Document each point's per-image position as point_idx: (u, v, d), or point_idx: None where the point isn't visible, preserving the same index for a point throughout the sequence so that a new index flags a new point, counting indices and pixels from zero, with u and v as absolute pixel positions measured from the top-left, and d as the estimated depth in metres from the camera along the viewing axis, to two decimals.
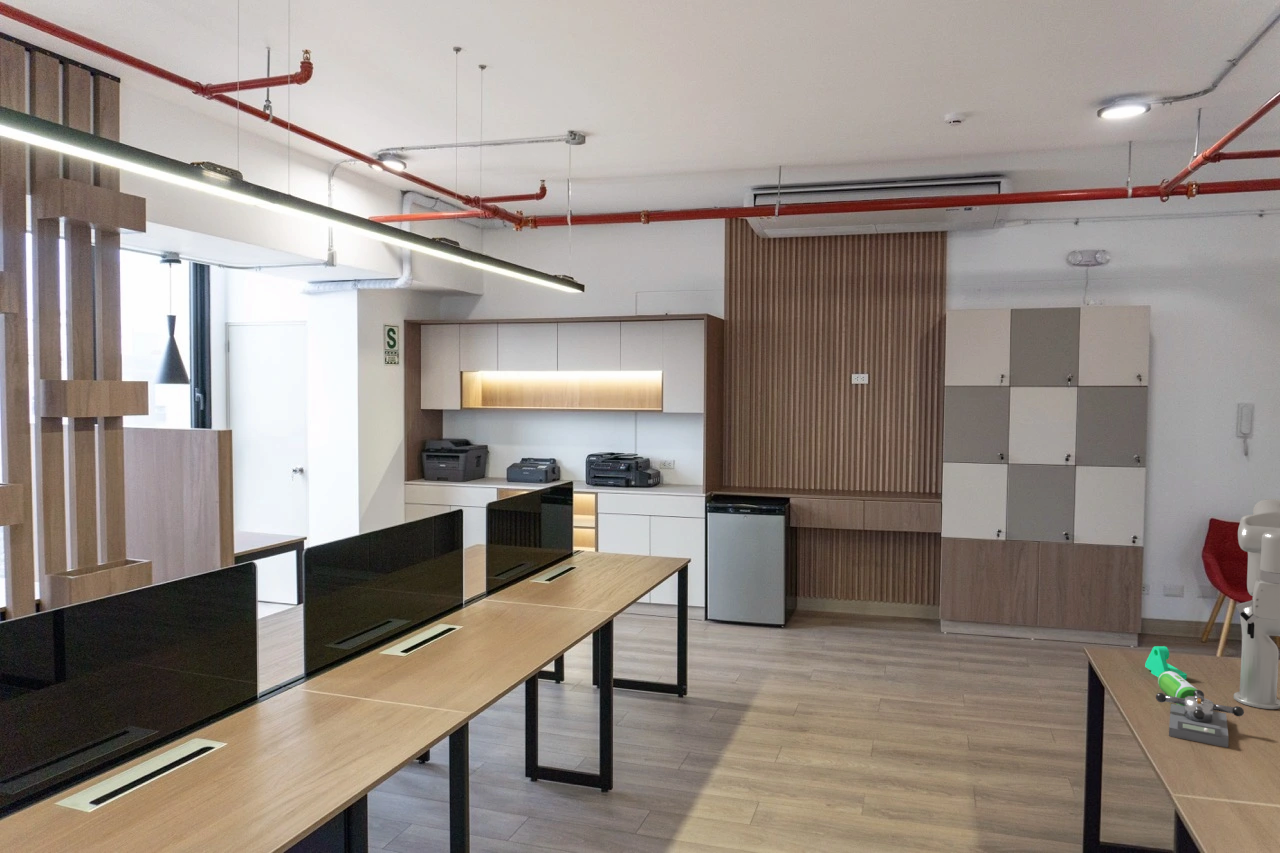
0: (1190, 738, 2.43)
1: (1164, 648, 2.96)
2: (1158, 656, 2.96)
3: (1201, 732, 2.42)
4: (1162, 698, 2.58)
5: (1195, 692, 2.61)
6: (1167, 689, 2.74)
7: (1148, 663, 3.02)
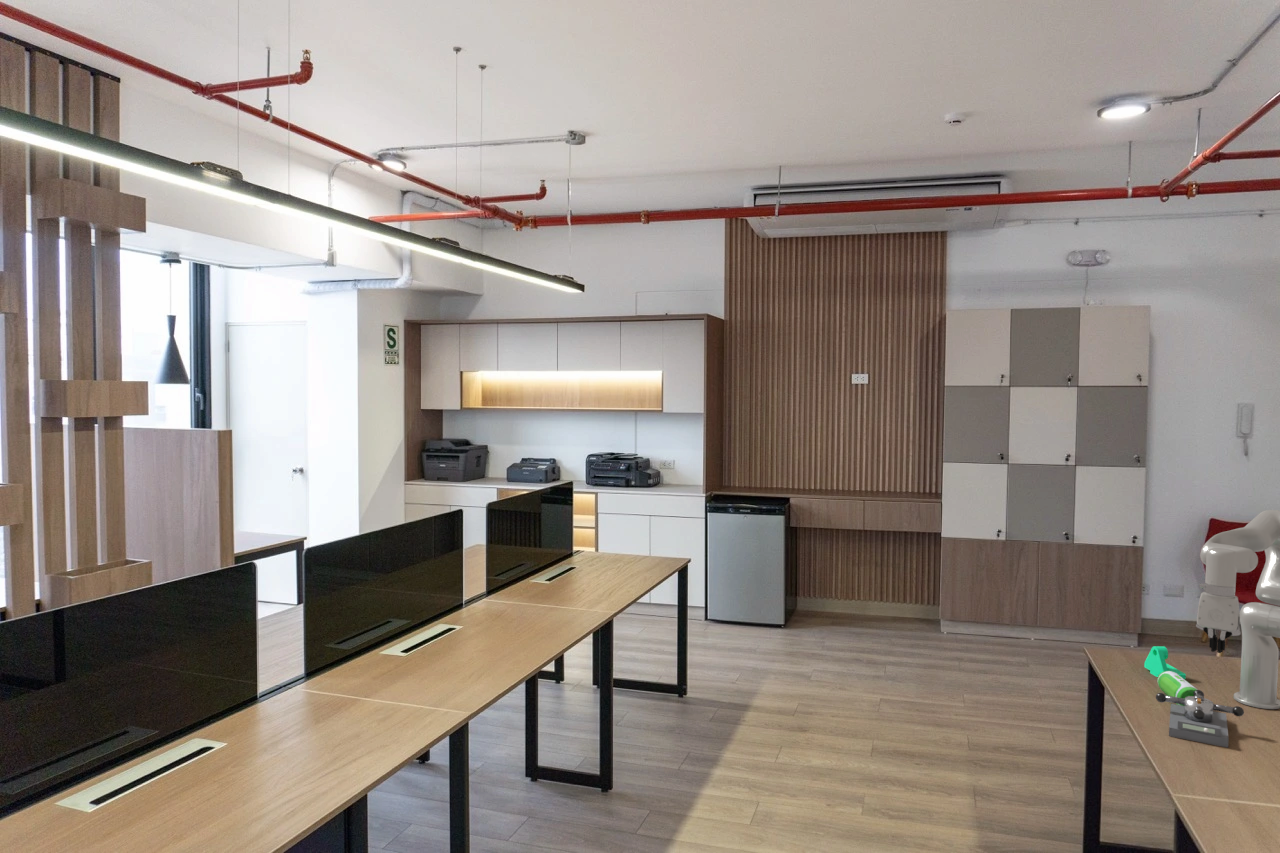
0: (1190, 738, 2.43)
1: (1163, 648, 2.96)
2: (1157, 656, 2.96)
3: (1201, 732, 2.42)
4: (1162, 698, 2.58)
5: (1195, 692, 2.61)
6: (1167, 689, 2.74)
7: (1147, 663, 3.02)
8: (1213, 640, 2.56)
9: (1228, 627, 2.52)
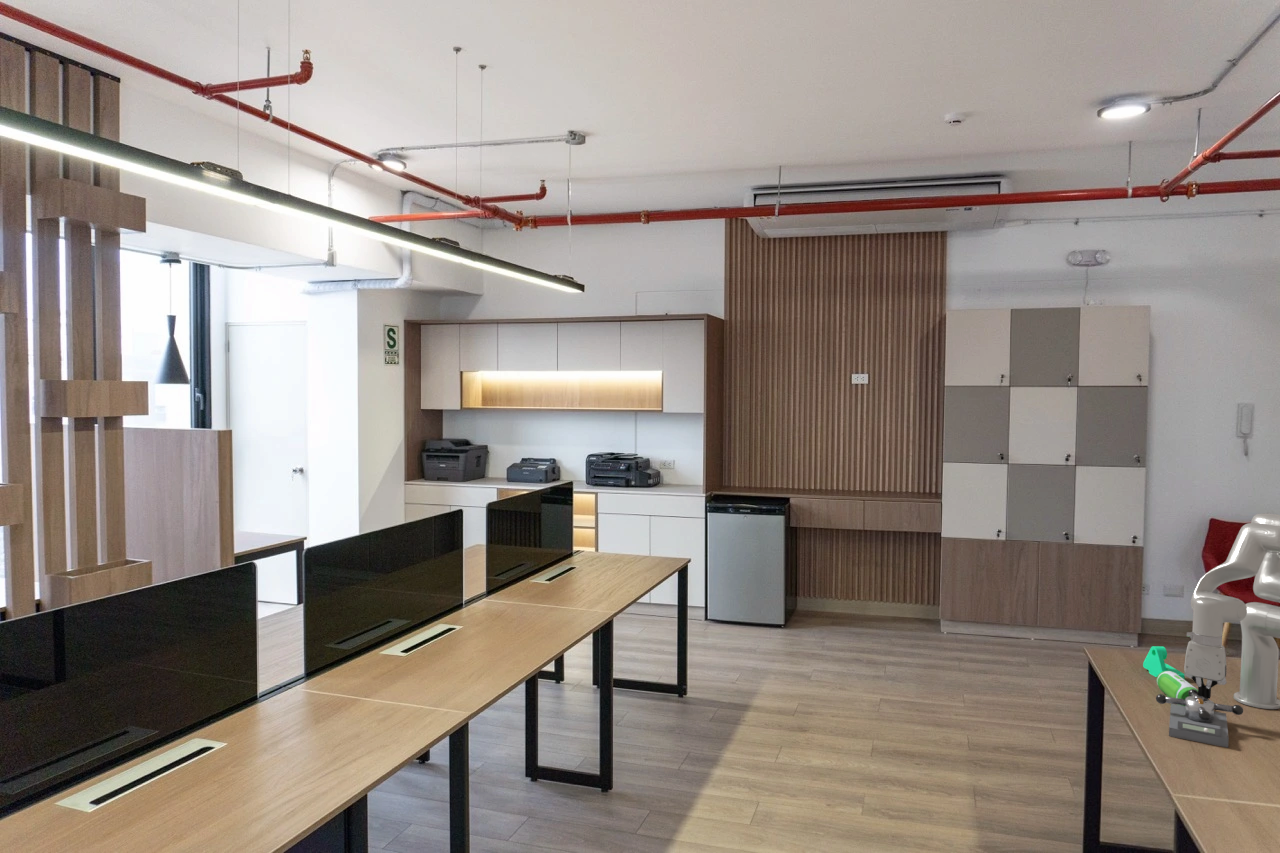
0: (1190, 738, 2.43)
1: (1162, 648, 2.96)
2: (1156, 656, 2.96)
3: (1201, 732, 2.42)
4: (1163, 699, 2.56)
5: (1190, 691, 2.62)
6: (1167, 689, 2.74)
7: (1146, 663, 3.02)
8: (1202, 689, 2.58)
9: (1215, 677, 2.55)
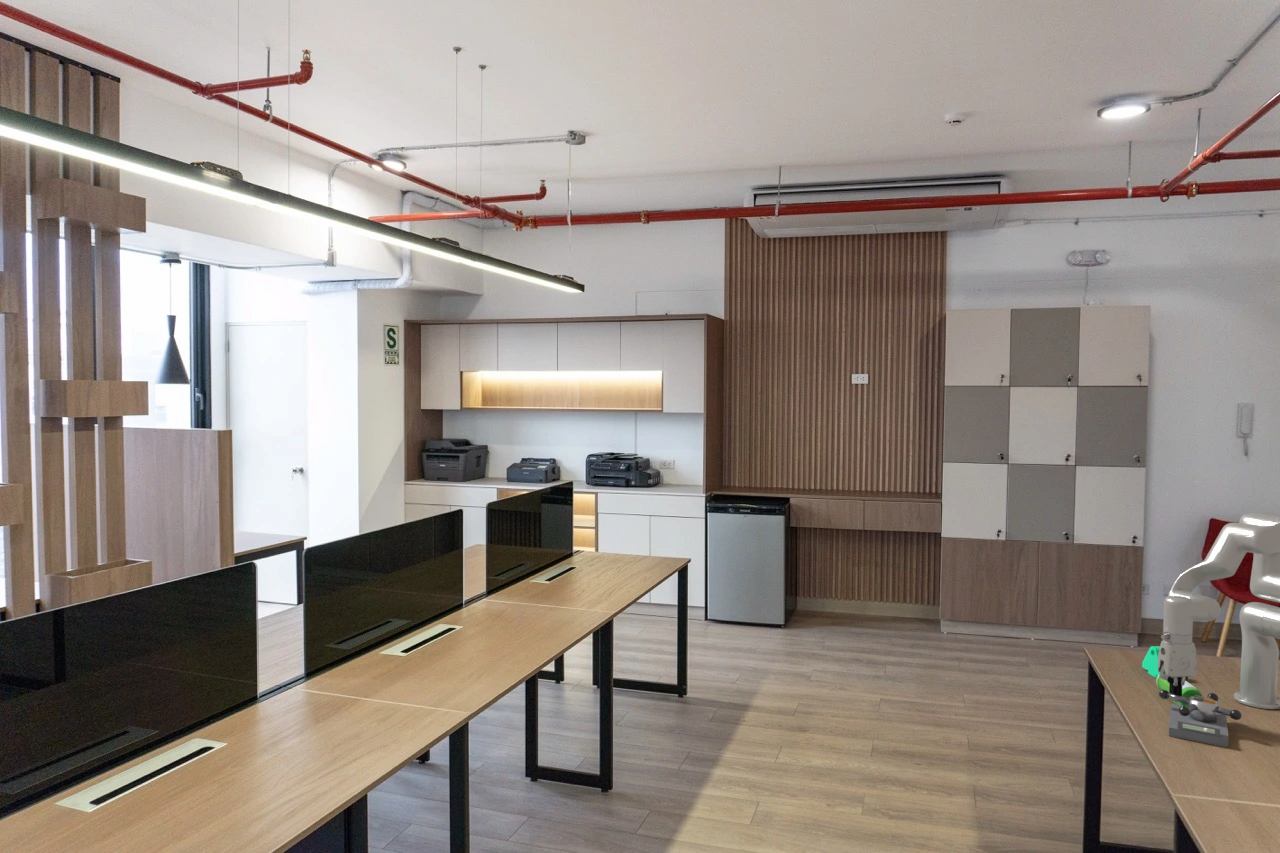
0: (1190, 738, 2.43)
1: None
2: (1155, 656, 2.96)
3: (1201, 732, 2.42)
4: (1189, 711, 2.47)
5: (1165, 693, 2.60)
6: (1167, 689, 2.74)
7: (1145, 663, 3.02)
8: (1178, 687, 2.59)
9: (1192, 672, 2.59)
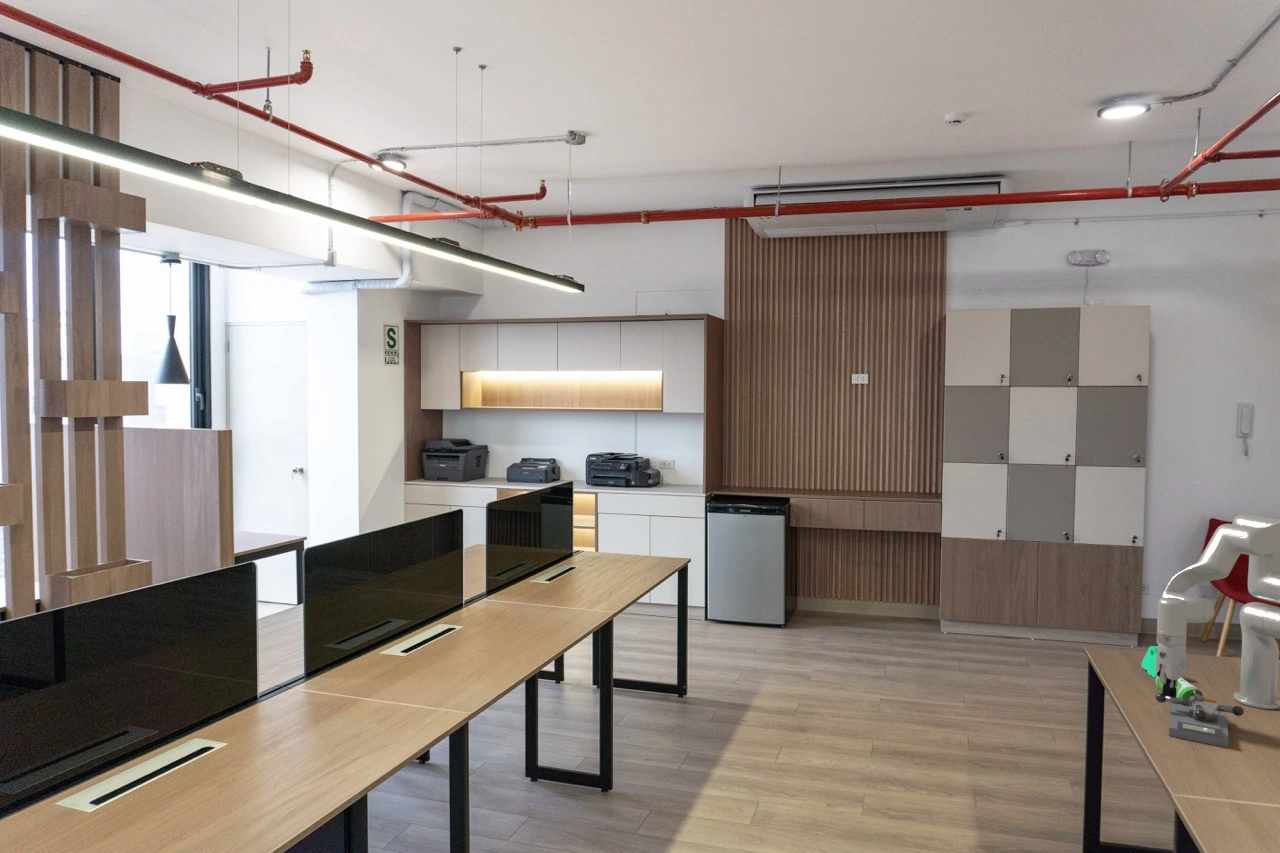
0: (1190, 738, 2.43)
1: None
2: (1154, 656, 2.96)
3: (1201, 732, 2.42)
4: None
5: (1164, 697, 2.57)
6: None
7: (1144, 663, 3.02)
8: (1174, 689, 2.58)
9: (1185, 672, 2.59)
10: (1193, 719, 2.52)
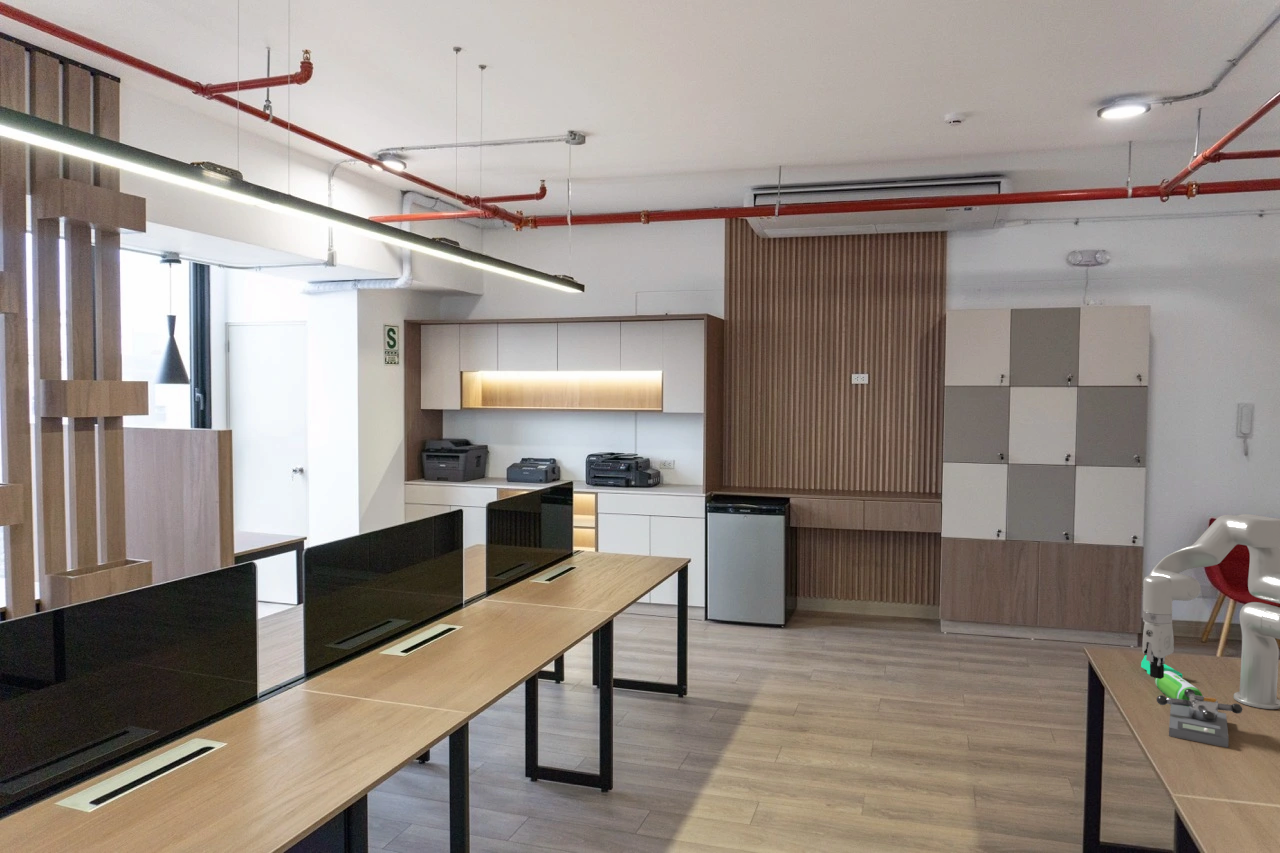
0: (1190, 738, 2.43)
1: None
2: None
3: (1201, 732, 2.42)
4: None
5: (1165, 699, 2.56)
6: (1167, 689, 2.74)
7: (1144, 663, 3.02)
8: (1161, 667, 2.58)
9: (1172, 649, 2.59)
10: (1193, 719, 2.52)
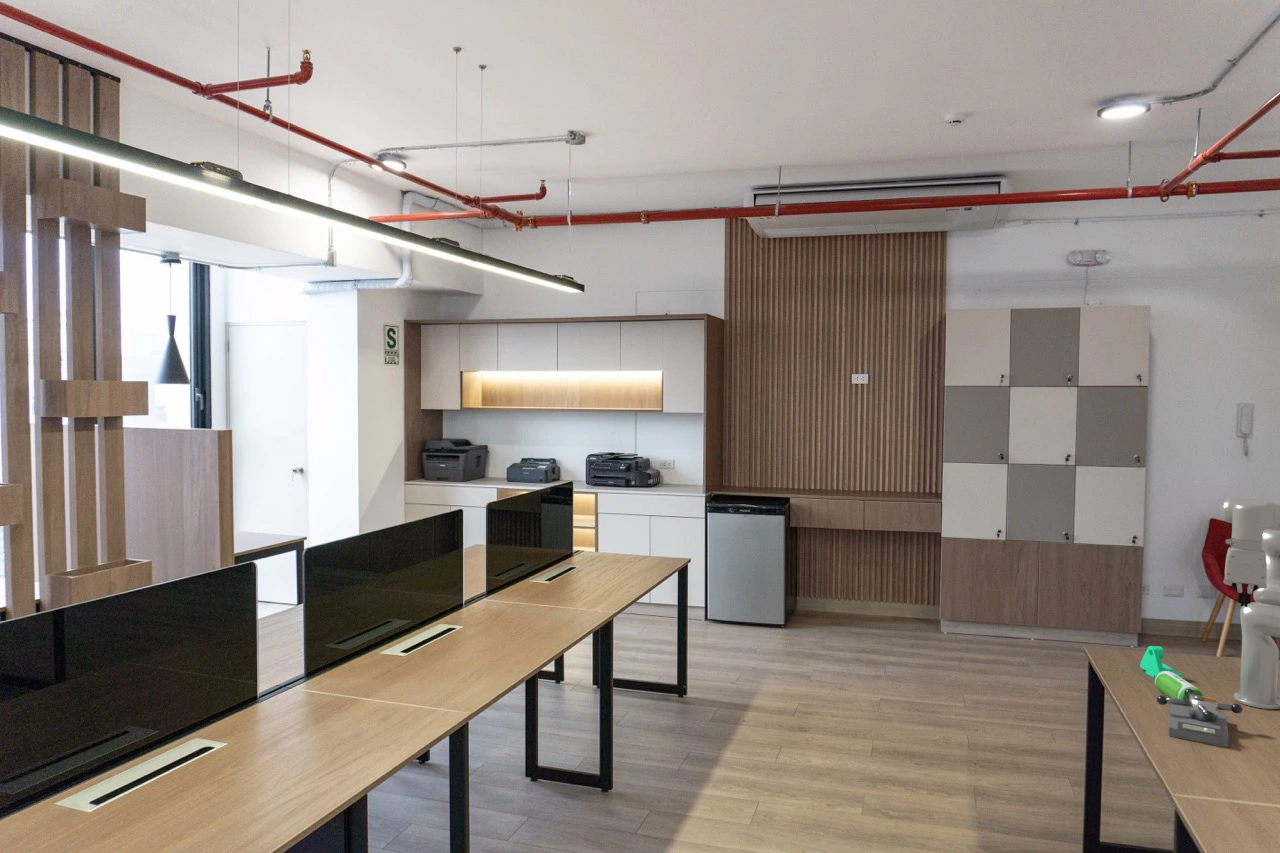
0: (1190, 738, 2.43)
1: (1159, 648, 2.96)
2: (1153, 656, 2.96)
3: (1201, 732, 2.42)
4: None
5: (1165, 699, 2.56)
6: (1167, 689, 2.74)
7: (1143, 663, 3.02)
8: (1243, 595, 2.56)
9: (1258, 581, 2.53)
10: (1193, 719, 2.52)
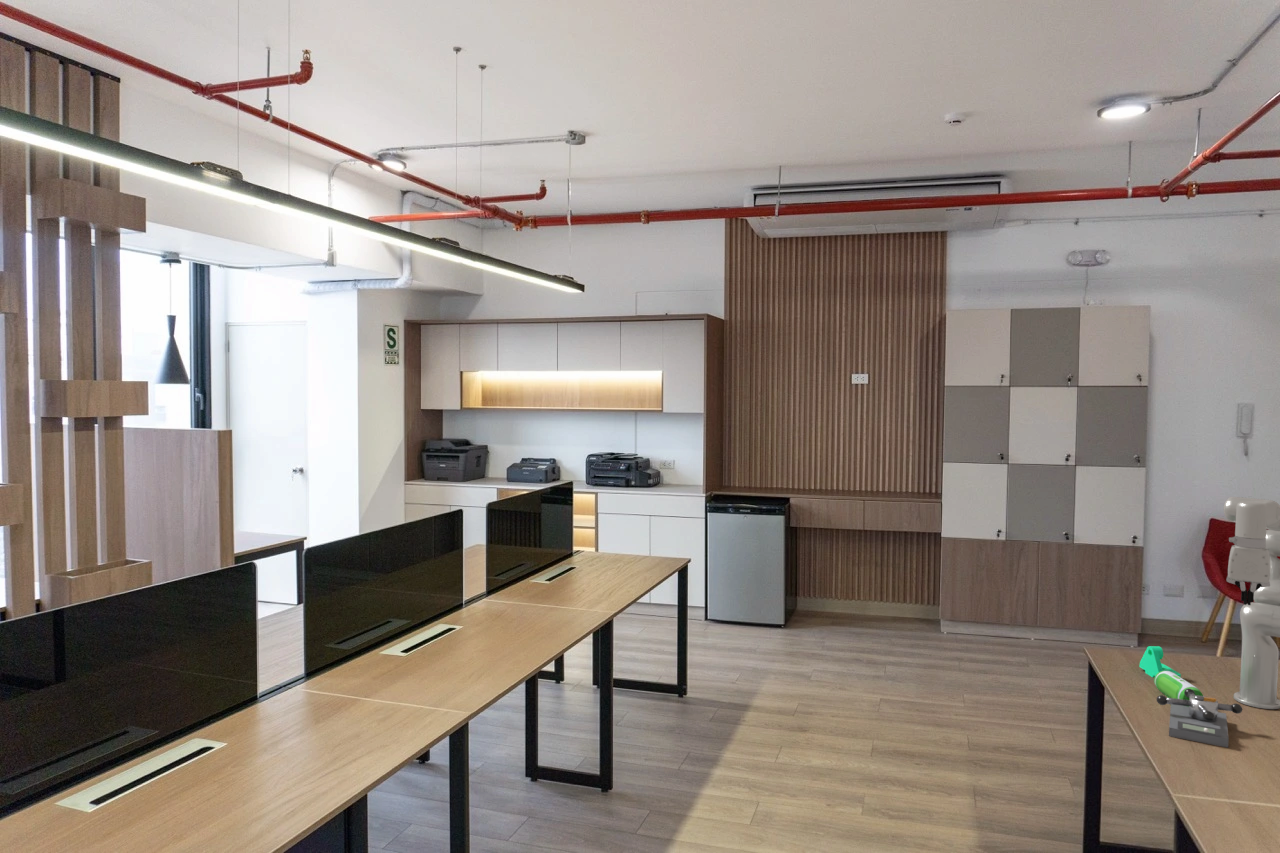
0: (1190, 738, 2.43)
1: (1158, 648, 2.96)
2: (1152, 656, 2.96)
3: (1201, 732, 2.42)
4: None
5: (1165, 699, 2.56)
6: (1167, 689, 2.74)
7: (1142, 663, 3.02)
8: (1246, 593, 2.56)
9: (1262, 579, 2.53)
10: (1193, 719, 2.52)
